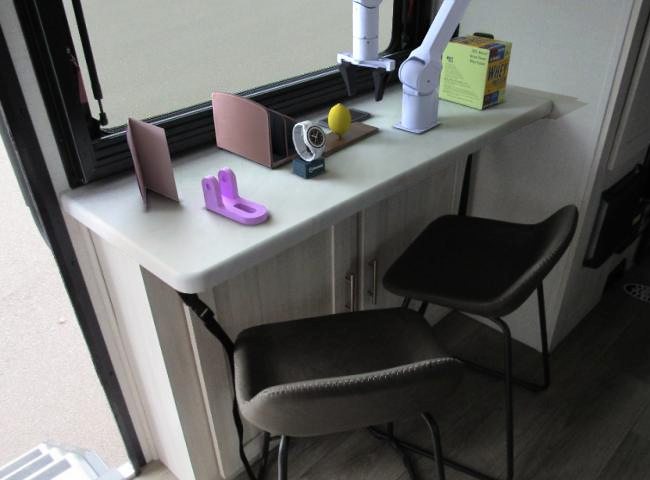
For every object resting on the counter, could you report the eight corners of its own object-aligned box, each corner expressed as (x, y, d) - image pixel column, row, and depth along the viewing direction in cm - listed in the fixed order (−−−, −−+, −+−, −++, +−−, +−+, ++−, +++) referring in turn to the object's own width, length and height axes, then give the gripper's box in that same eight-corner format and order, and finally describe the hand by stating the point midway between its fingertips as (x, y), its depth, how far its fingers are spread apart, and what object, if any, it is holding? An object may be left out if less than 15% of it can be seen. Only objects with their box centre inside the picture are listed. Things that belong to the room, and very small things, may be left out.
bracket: (206, 208, 112) (200, 175, 108) (226, 197, 116) (221, 165, 112) (252, 227, 106) (248, 193, 102) (273, 215, 109) (269, 182, 105)
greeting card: (141, 187, 121) (123, 117, 112) (176, 182, 122) (162, 112, 113) (141, 211, 112) (122, 137, 103) (179, 206, 113) (164, 132, 104)
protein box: (482, 110, 154) (490, 49, 145) (437, 98, 163) (442, 40, 154) (504, 101, 159) (513, 42, 150) (460, 89, 169) (466, 33, 159)
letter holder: (271, 169, 126) (265, 105, 118) (216, 147, 137) (207, 87, 129) (303, 155, 132) (299, 94, 124) (248, 135, 143) (241, 77, 135)
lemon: (349, 141, 136) (348, 107, 131) (326, 140, 137) (325, 106, 132) (353, 133, 140) (353, 100, 135) (331, 131, 141) (330, 99, 136)
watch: (311, 181, 121) (309, 131, 114) (288, 170, 126) (284, 121, 119) (331, 173, 124) (330, 124, 117) (307, 163, 129) (305, 114, 122)
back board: (356, 125, 147) (356, 121, 147) (378, 131, 143) (378, 127, 143) (302, 148, 136) (301, 144, 135) (325, 156, 132) (324, 152, 131)
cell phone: (372, 116, 152) (372, 113, 152) (336, 130, 144) (336, 127, 144) (351, 110, 156) (351, 107, 156) (316, 124, 148) (316, 121, 148)
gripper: (329, 36, 128) (330, 97, 136) (383, 43, 121) (382, 107, 129) (347, 30, 133) (347, 89, 141) (400, 37, 126) (398, 99, 134)
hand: (365, 97), depth 135 cm, fingers open, 7 cm apart
